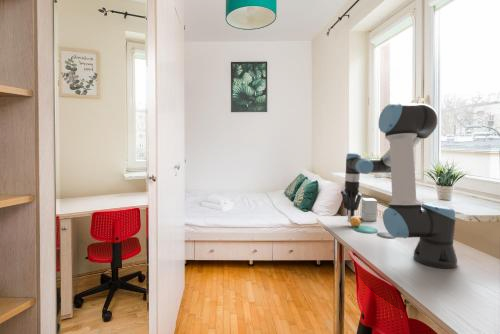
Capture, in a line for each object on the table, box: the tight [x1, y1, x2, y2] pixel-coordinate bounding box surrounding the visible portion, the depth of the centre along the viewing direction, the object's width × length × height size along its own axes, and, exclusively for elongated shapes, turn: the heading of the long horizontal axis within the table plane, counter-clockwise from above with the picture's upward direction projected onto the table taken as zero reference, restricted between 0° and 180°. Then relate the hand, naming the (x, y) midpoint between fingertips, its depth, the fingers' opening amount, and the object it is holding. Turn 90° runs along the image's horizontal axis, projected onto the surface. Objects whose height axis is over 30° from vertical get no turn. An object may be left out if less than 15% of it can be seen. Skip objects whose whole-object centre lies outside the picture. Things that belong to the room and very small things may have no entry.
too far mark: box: [376, 231, 397, 239], centre depth 151 cm, size 9×9×1 cm
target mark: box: [352, 225, 379, 234], centre depth 161 cm, size 13×13×1 cm
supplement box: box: [360, 197, 378, 222], centre depth 180 cm, size 7×7×13 cm
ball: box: [349, 216, 362, 227], centre depth 166 cm, size 6×6×6 cm
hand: (350, 221), depth 168 cm, fingers closed
